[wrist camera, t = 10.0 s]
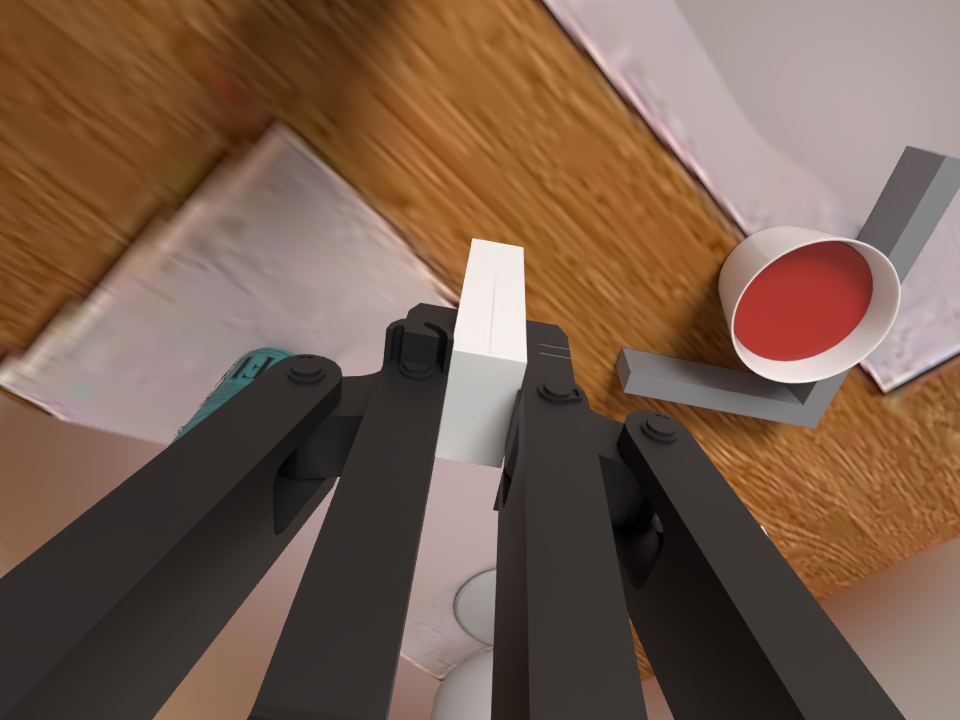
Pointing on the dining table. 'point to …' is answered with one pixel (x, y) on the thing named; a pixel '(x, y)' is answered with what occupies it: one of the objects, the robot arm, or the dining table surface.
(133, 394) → the dining table surface
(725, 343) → the dining table surface
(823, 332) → the candle
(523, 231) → the dining table surface
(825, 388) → the corner fence
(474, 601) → the chalice
